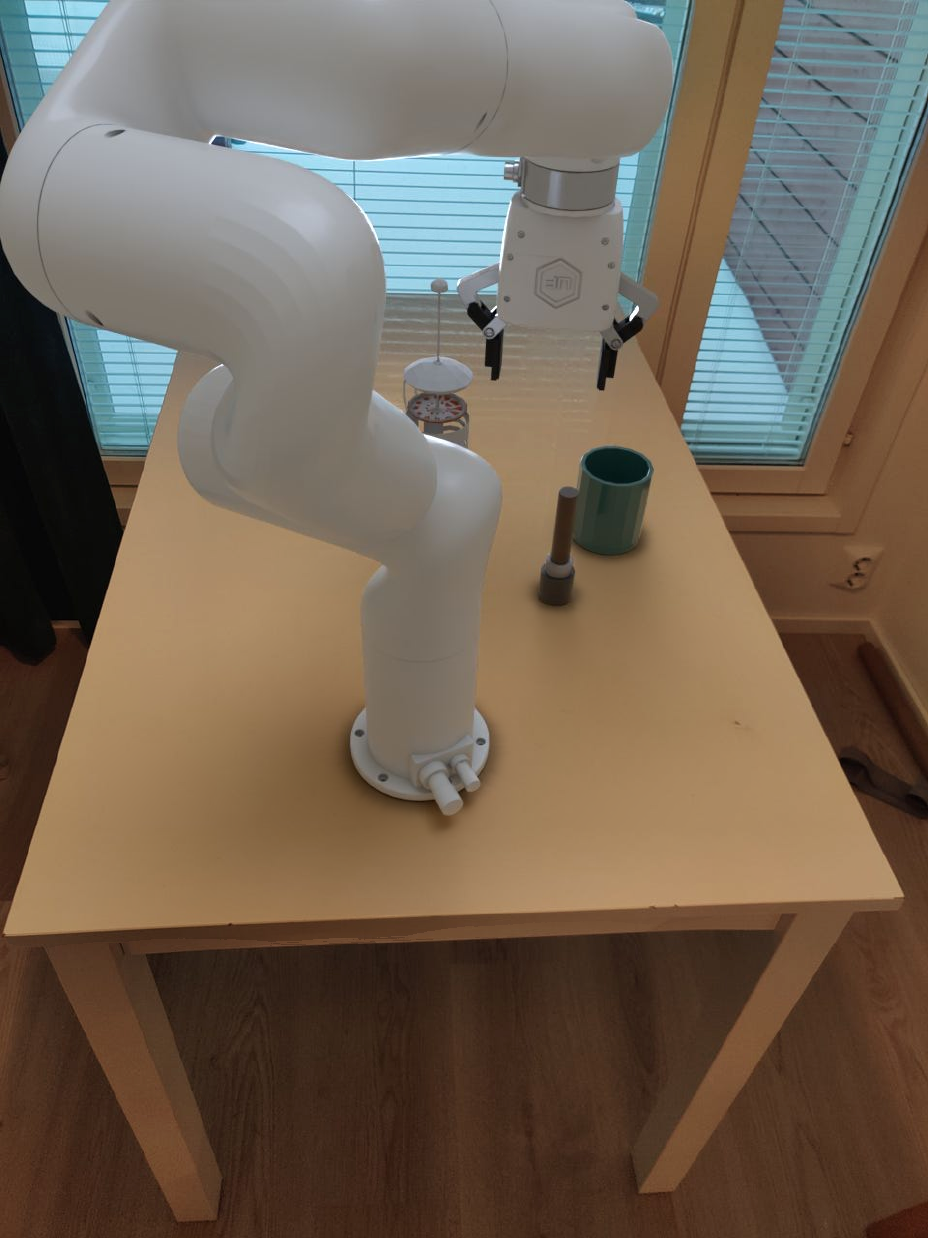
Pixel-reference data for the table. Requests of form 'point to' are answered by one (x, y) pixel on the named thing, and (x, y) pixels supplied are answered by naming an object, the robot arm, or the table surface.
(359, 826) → the table surface
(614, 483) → the cup
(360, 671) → the table surface
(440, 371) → the french press
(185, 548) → the table surface
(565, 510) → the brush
